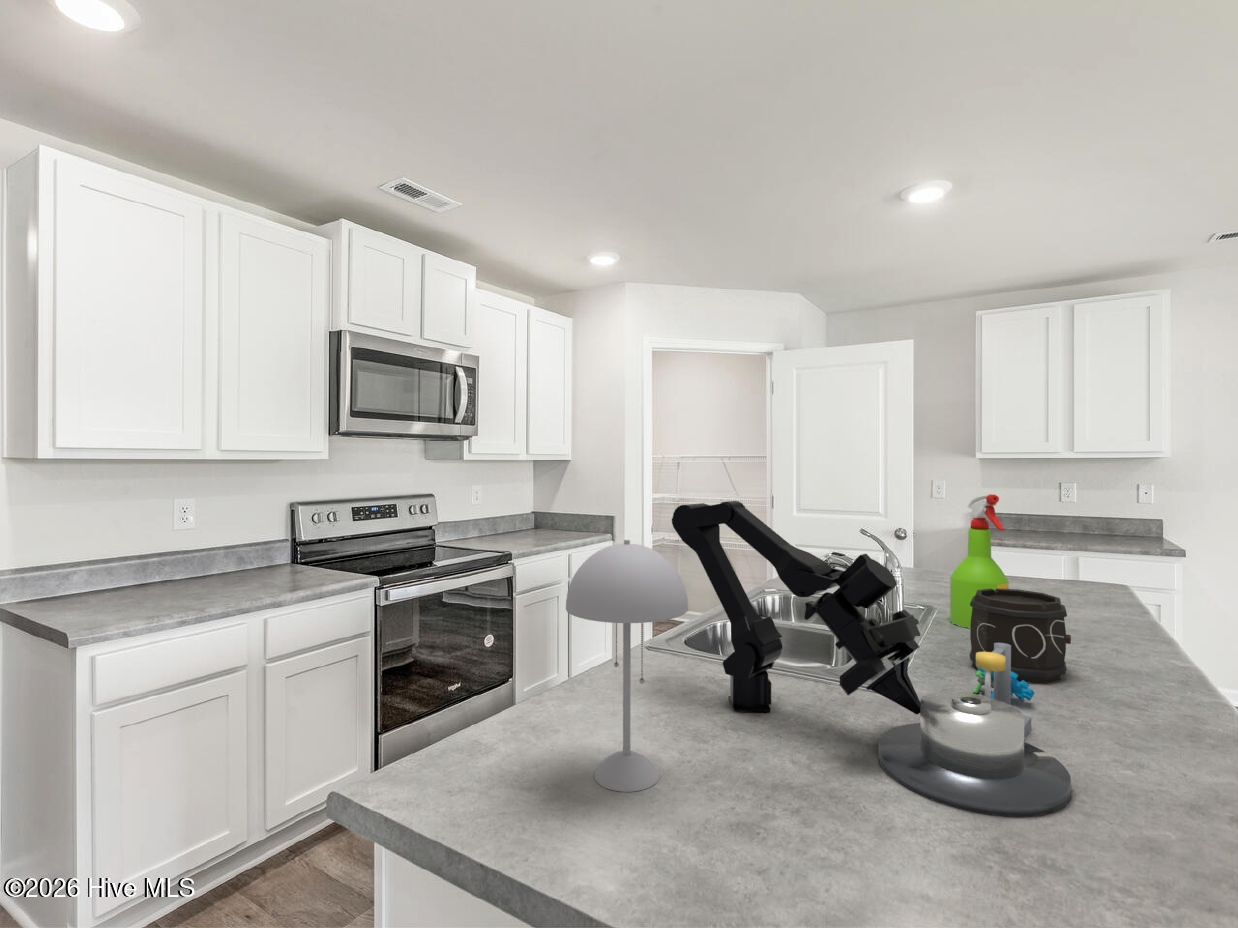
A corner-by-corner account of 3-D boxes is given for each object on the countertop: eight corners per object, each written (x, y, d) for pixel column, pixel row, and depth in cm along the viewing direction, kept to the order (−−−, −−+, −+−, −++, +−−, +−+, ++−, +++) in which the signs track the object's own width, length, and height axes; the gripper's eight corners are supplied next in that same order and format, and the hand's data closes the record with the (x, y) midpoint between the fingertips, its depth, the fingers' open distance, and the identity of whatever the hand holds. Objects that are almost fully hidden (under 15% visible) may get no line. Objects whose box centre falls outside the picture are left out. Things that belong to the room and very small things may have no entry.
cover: (945, 778, 88) (946, 717, 88) (905, 736, 101) (905, 683, 101) (1045, 779, 87) (1045, 718, 87) (991, 737, 100) (992, 684, 100)
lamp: (572, 747, 101) (572, 532, 101) (683, 749, 101) (684, 533, 100) (558, 806, 84) (558, 548, 84) (692, 808, 84) (693, 549, 83)
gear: (1048, 699, 117) (1010, 661, 116) (1031, 726, 116) (992, 687, 115) (1000, 687, 128) (965, 651, 127) (984, 711, 126) (948, 675, 126)
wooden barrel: (1073, 692, 125) (1074, 609, 125) (966, 675, 135) (967, 598, 135) (1068, 666, 141) (1069, 593, 141) (973, 653, 150) (974, 584, 150)
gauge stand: (983, 717, 113) (984, 636, 113) (1031, 729, 108) (1031, 644, 108) (961, 742, 103) (962, 653, 103) (1012, 755, 99) (1013, 662, 99)
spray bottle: (975, 635, 165) (976, 495, 164) (940, 617, 183) (941, 491, 182) (1030, 635, 165) (1031, 495, 164) (990, 618, 183) (991, 491, 182)
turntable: (921, 815, 82) (922, 796, 82) (854, 734, 106) (855, 719, 106) (1116, 817, 82) (1116, 797, 82) (1004, 735, 106) (1005, 720, 106)
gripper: (860, 605, 95) (942, 701, 88) (906, 586, 109) (980, 667, 101) (809, 649, 100) (881, 742, 93) (859, 625, 114) (926, 705, 107)
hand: (920, 712), depth 98 cm, fingers closed, pressing on cover
